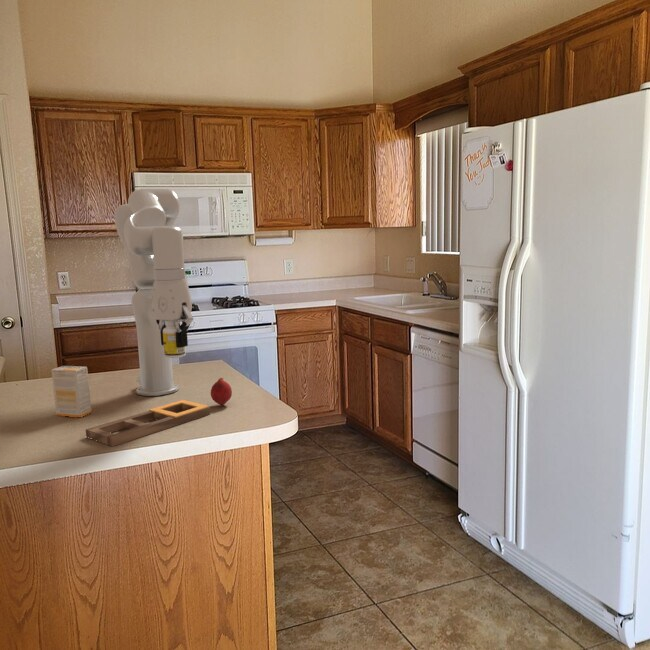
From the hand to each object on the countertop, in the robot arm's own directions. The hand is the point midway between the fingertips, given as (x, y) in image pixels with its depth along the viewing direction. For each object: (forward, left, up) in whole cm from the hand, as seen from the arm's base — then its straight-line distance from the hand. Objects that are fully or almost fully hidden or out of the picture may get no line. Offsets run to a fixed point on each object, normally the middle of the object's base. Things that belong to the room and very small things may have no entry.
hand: (174, 344), depth 155 cm
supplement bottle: (0, 0, -3) cm, 3 cm away
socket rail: (0, -9, -19) cm, 21 cm away
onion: (+2, +13, -19) cm, 23 cm away
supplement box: (-26, -15, -19) cm, 36 cm away
